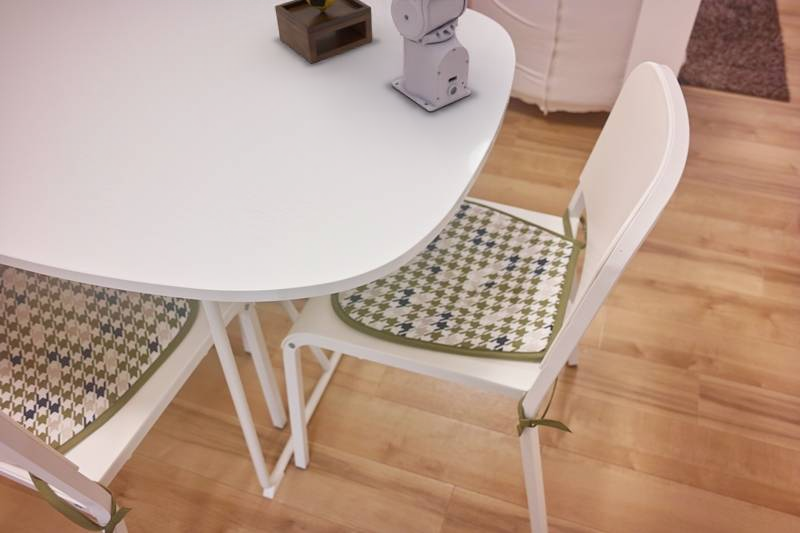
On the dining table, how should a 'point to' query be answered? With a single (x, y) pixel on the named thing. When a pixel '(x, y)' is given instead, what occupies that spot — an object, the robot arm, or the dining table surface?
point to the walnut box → (324, 27)
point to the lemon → (328, 3)
